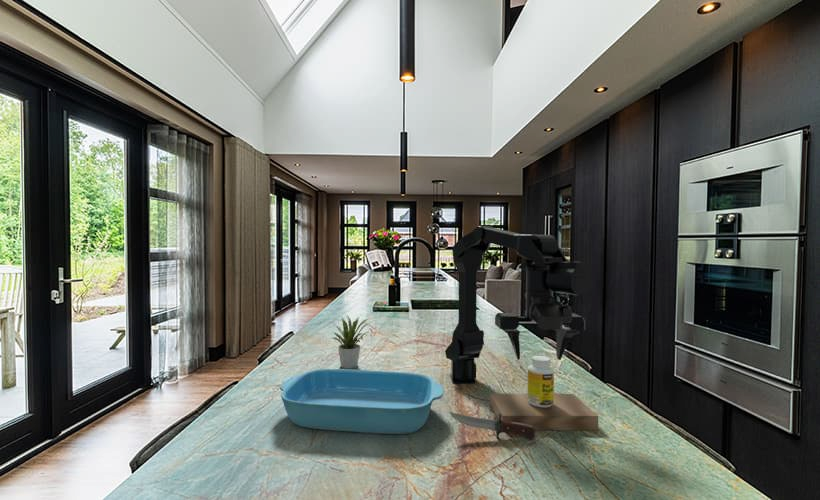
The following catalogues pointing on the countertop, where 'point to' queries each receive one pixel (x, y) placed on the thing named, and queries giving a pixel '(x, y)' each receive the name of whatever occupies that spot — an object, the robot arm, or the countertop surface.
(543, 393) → the supplement bottle
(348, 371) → the casserole dish
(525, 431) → the knife
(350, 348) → the house plant
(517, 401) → the walnut stand
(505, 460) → the countertop surface
